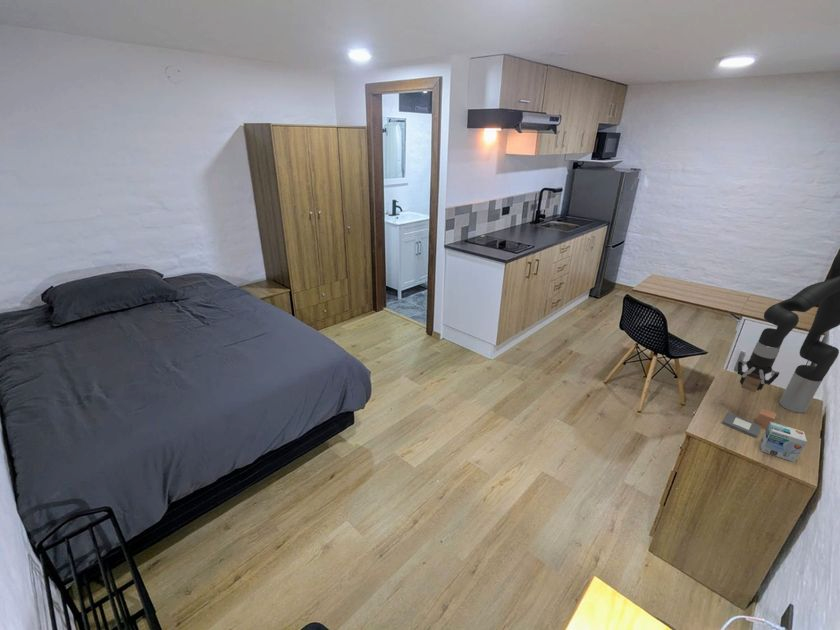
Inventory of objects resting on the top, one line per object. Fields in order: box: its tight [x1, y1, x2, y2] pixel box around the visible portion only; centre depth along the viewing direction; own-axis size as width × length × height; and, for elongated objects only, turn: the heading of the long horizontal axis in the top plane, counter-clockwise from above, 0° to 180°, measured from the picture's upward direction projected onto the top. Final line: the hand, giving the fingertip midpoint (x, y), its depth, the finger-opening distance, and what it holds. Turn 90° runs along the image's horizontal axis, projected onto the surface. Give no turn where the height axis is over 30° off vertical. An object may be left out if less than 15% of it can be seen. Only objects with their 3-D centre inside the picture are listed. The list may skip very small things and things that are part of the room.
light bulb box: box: [759, 421, 808, 463], centre depth 154 cm, size 11×7×11 cm, turn 56°
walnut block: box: [740, 373, 761, 394], centre depth 169 cm, size 5×5×6 cm
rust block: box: [754, 408, 777, 430], centre depth 169 cm, size 5×5×6 cm
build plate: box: [721, 412, 762, 439], centre depth 170 cm, size 9×12×1 cm
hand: (749, 386), depth 170 cm, fingers closed on walnut block, 5 cm apart
